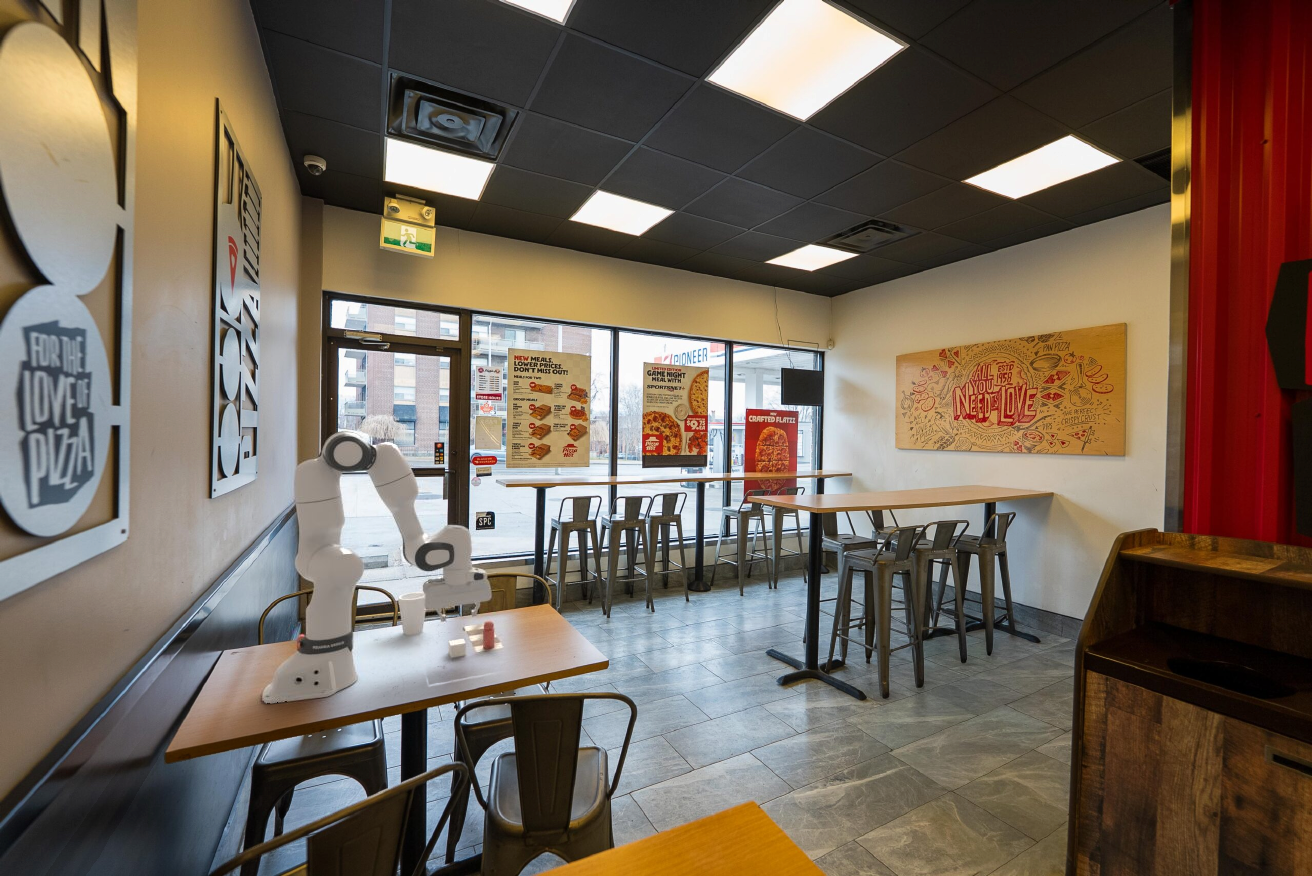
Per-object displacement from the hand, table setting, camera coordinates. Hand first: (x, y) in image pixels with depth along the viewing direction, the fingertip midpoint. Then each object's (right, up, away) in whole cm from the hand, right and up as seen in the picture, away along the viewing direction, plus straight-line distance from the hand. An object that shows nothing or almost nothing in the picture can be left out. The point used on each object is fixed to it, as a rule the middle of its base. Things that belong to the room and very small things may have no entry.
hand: (458, 618), depth 176 cm
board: (+3, -12, +15) cm, 19 cm away
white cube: (0, -12, 0) cm, 12 cm away
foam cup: (-24, -12, +21) cm, 34 cm away
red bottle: (+8, -11, +5) cm, 15 cm away
